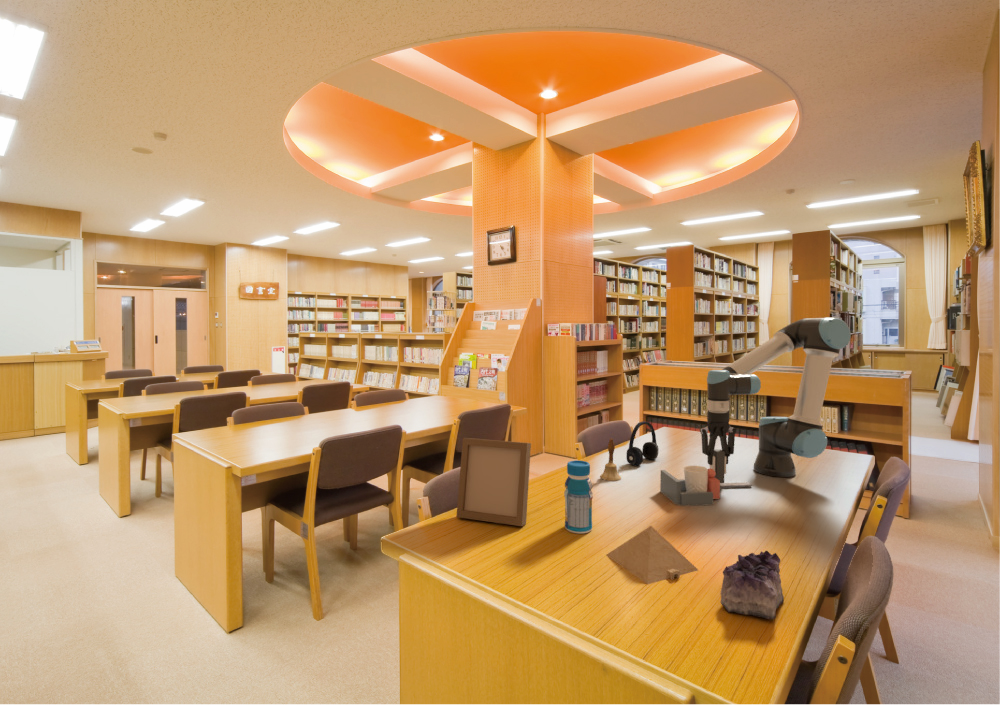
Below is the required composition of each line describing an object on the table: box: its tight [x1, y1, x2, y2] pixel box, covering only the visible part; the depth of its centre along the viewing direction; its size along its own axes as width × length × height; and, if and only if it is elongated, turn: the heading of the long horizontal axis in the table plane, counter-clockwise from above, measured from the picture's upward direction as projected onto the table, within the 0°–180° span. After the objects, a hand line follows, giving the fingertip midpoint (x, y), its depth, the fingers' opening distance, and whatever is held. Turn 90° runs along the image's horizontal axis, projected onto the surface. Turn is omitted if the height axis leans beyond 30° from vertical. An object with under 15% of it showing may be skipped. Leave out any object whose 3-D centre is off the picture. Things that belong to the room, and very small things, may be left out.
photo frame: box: [456, 437, 532, 527], centre depth 153 cm, size 15×22×25 cm
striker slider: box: [707, 448, 725, 500], centre depth 173 cm, size 12×15×14 cm
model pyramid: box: [606, 525, 699, 585], centre depth 121 cm, size 17×17×10 cm
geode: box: [720, 550, 785, 620], centre depth 105 cm, size 20×12×10 cm, turn 140°
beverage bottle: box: [563, 459, 594, 535], centre depth 142 cm, size 8×8×20 cm
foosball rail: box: [720, 481, 752, 490], centre depth 179 cm, size 30×3×1 cm, turn 94°
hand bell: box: [600, 438, 622, 482], centre depth 191 cm, size 8×8×16 cm
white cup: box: [683, 465, 709, 492], centre depth 168 cm, size 8×8×10 cm
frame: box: [659, 469, 714, 507], centre depth 168 cm, size 12×15×8 cm
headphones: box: [626, 421, 659, 467], centre depth 213 cm, size 20×7×18 cm, turn 133°
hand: (717, 472), depth 179 cm, fingers open, 4 cm apart
